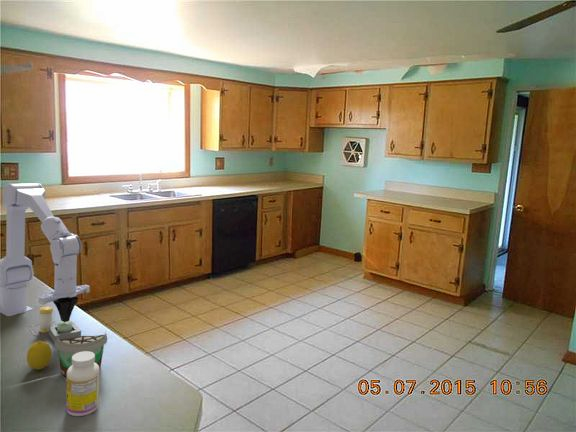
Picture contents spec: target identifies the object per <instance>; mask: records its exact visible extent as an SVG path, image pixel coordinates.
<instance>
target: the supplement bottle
mask: <svg viewBox="0 0 576 432" xmlns="http://www.w3.org/2000/svg"><path fill="white" fill-rule="evenodd" d="M94 361H95V354H94V353H93V352H90V351H83V352H78V353H76V354H74V355H73V356H72V366H70V367H69V369H68V370H67V378H66V388H65V389H66V392H65V393H66V394H65V395H66V398H65V399H66V400H65V401H66V402H65V403H66V404H65V407H66V408H65V409H66V412H67V413H68V415H70V416H73V417H84V416H88V415H91V414H92V413H93V412H95V411H96V410H97V409H98V407H99V405H100V403H99V401H100V400H99V399H100V371H99V366H98V364H96V363H95V362H94Z"/></svg>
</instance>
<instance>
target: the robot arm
mask: <svg viewBox="0 0 576 432" xmlns="http://www.w3.org/2000/svg"><path fill="white" fill-rule="evenodd" d="M1 192H2V207H3V208H6V221H5V223H6V224H5V225H6V226H5V227H6V229H5V230H6V232H5V233H6V235H5V236H6V238H5V240H6V241H5V243H6V244H5V246H6V247H5V250H6V251H5V256H4V257H2V258H1V259H0V313H1V314H3V315H5V316H7V317H11V316H15V315H19V314H22V313H26V312H29V311H33V310H34V309H33V307H31V306H28V285H30V282H31V281H32V280H33V278H34V268H33V261H32V260H31V259H30V258H29V257H27V256H25V255H26V254H25V252H26V251H25V247H26V246H25V245H26V243H25V241H26V211H27V209H29V208H30V210H31V211H32V212H33V213H34V215H35V216H36V217H37V219H38V220H40V221H39V222H41V224H40V229H41V232H43V234H44V236H45V237H46V239H47V240H48V241H49V243H50V245H49V250H50V253H51V256H52V262H53V263H54V273H53V274H54V280H53V281H54V282H53V283H54V286H53V287H54V290H52V291H49V292H47V293H46V294H43V295H40V296H38V304H40V305H42V306H43V305H46V304H47V303H51V302H52V303H53V304H54V305H55V307H56V309H57V312H58V315H59V318H60V321H63V322H68V321H71V320H70V318H71V317H72V312H73V310H74V308H75V306H76V305H77V303H78V302H79V297H78V296H77V295H80V294H84V293H88V294H89V293H90V291H91V290H90V285H88V284H83V285H77V274H78V273H77V272H78V271H77V267H78V266H77V265H78V263H77V262H78V255H80V253H81V252H82V246H83V245H82V241H81V239H80V237H79V236H78V234H74V233H73V232H70V231H69V229H68V228H67V227H66V225H65V223H64V222H63V220H62V219H61V218H60V217H59V216H54V215H53V212H52V210H51V209H50V206H49V205H48V203H47V201H46V200H45V199H46V190H45V187H44V186H43V185H42V184H41V183H40V182H33V183H31V182H30V183H27V182H26V183H6V185H4V186H3V188H2V191H1Z"/></svg>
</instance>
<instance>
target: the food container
mask: <svg viewBox="0 0 576 432" xmlns="http://www.w3.org/2000/svg"><path fill="white" fill-rule="evenodd" d="M107 342H108V335H107V333H106V332H104V334H100V335H99V334H98V335H81V336H79V337H75V338H70V339H62V340H59V339H58V337H57V339H56V341H55V343H54V346H55V348H56V349H57V350H58V351H57V352H58V359H59V366H60V368H59V369H60V374H61V376H62V377H63V378H65V379H67V370H68V369H69V367H70V366H72V356H73V355H74V354H76V353H78V352H83V351H90V352H93V353H94V354H95V361H94V362H95V363H96V364H98V366H99V372H100V370H101V368H102V363H103V362H102V359H103V356H104V355H103V353H104V348H105V347H104V346H105V345H106V343H107Z"/></svg>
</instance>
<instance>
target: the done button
mask: <svg viewBox="0 0 576 432" xmlns="http://www.w3.org/2000/svg"><path fill="white" fill-rule="evenodd" d="M73 322H74V321H72V320H69V321H68V322H63V321H61V320H59V321H58V322H56V323H57V332H58V334H59V333H64V332H69V331H72V323H73Z"/></svg>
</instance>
